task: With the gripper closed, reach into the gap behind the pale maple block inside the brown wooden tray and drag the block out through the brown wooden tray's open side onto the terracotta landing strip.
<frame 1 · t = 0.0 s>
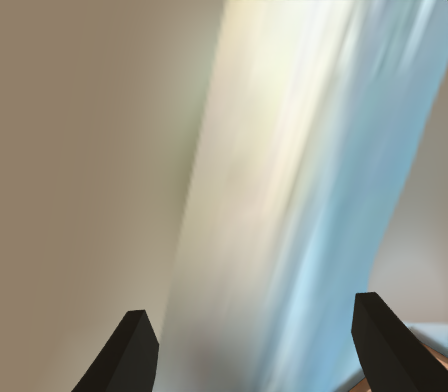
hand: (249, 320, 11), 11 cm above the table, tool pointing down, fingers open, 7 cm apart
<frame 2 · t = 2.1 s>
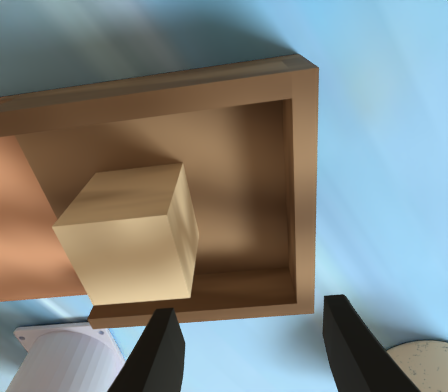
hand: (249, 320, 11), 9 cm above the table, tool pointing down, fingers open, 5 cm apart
maple block: (150, 205, 18), point 1 cm above the table, touching brown wooden tray
brown wooden tray: (115, 200, 20), on the table
teacup with lid: (420, 370, 29), on the table
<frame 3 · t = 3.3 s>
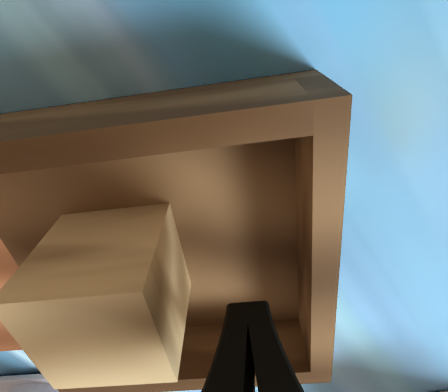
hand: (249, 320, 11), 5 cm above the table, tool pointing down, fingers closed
maple block: (131, 251, 15), point 1 cm above the table, touching brown wooden tray
brown wooden tray: (90, 243, 16), on the table
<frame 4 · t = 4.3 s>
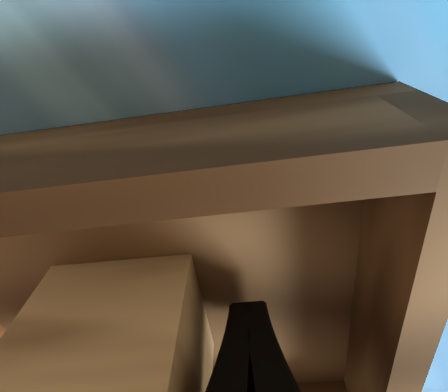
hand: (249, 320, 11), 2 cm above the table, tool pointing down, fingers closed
maple block: (139, 308, 12), point 1 cm above the table, touching gripper, brown wooden tray
brown wooden tray: (89, 292, 13), on the table
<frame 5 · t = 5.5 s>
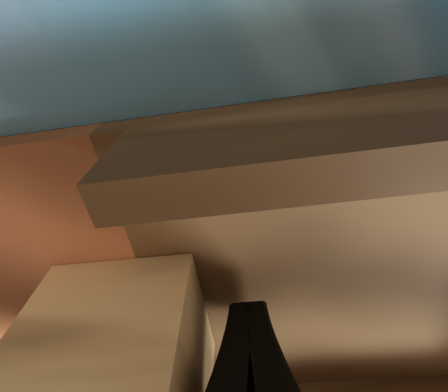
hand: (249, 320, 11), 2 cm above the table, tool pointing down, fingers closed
maple block: (140, 308, 12), point 1 cm above the table, touching gripper
brown wooden tray: (244, 279, 12), on the table
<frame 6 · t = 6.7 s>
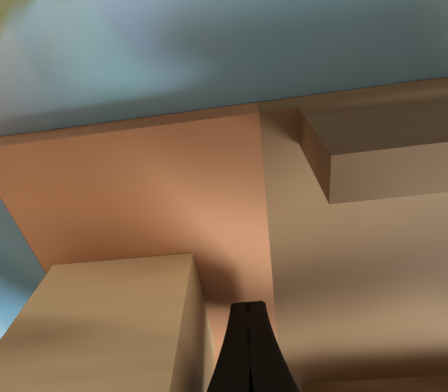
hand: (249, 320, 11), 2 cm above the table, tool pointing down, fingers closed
maple block: (141, 307, 12), point 1 cm above the table, touching gripper, brown wooden tray
brown wooden tray: (361, 270, 12), on the table
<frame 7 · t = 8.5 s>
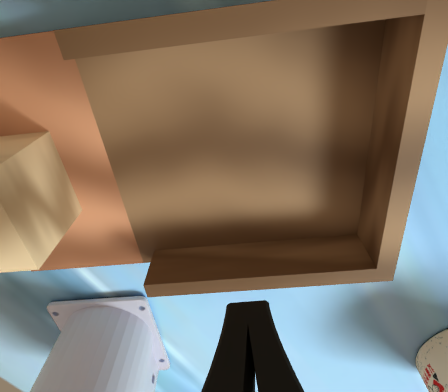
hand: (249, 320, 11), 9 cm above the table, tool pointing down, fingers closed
maple block: (25, 177, 18), point 1 cm above the table, touching brown wooden tray
brown wooden tray: (176, 156, 18), on the table
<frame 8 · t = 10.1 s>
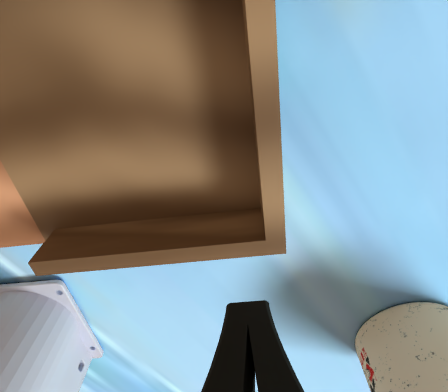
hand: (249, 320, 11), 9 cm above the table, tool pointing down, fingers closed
brown wooden tray: (60, 127, 17), on the table
teacup with lid: (413, 339, 27), on the table
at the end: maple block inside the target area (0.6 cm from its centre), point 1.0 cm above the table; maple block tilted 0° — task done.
